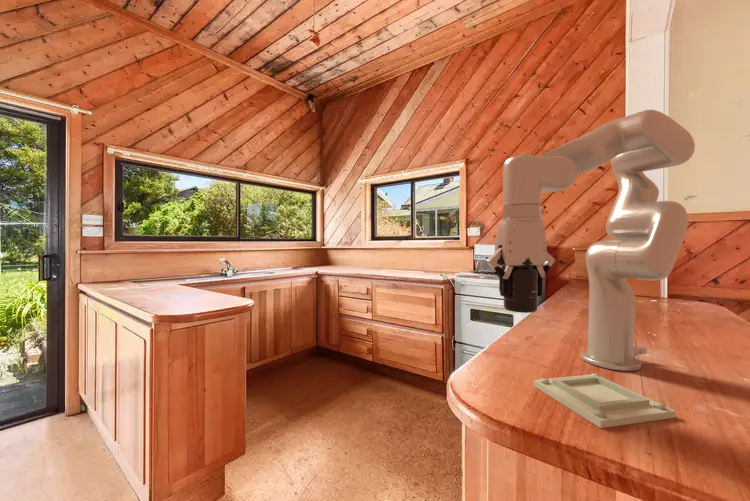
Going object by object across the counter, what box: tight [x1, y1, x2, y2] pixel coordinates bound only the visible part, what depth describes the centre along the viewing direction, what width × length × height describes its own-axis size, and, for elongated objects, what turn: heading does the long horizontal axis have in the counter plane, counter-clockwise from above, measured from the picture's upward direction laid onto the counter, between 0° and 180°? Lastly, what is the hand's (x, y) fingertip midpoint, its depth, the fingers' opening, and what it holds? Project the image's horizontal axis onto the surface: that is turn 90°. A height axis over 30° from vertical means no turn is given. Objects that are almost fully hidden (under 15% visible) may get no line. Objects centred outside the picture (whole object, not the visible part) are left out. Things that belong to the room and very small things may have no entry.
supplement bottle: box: [503, 257, 539, 314], centre depth 70 cm, size 7×7×12 cm
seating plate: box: [533, 372, 676, 429], centre depth 63 cm, size 16×16×2 cm
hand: (520, 295), depth 70 cm, fingers closed on supplement bottle, 6 cm apart
